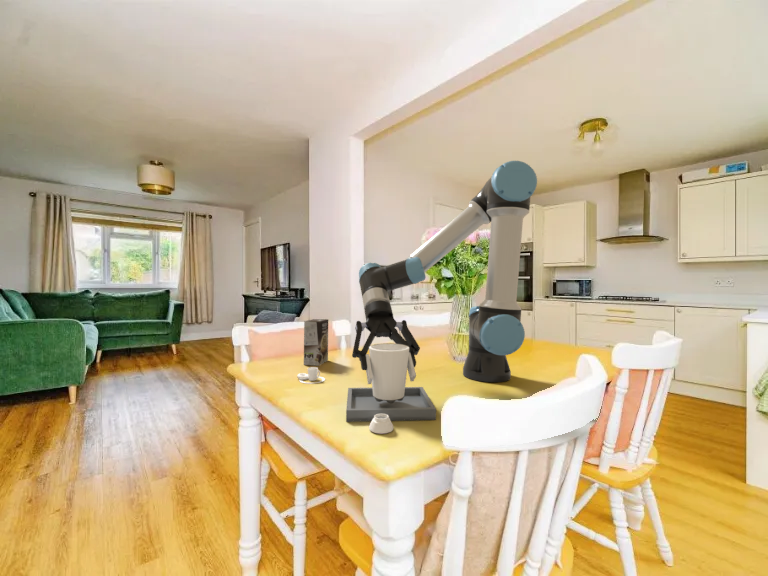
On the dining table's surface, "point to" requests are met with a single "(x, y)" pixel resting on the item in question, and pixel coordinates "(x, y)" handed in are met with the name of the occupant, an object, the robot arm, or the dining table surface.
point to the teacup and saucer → (310, 375)
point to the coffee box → (315, 342)
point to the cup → (389, 371)
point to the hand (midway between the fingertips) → (392, 379)
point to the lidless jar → (381, 424)
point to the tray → (389, 406)
